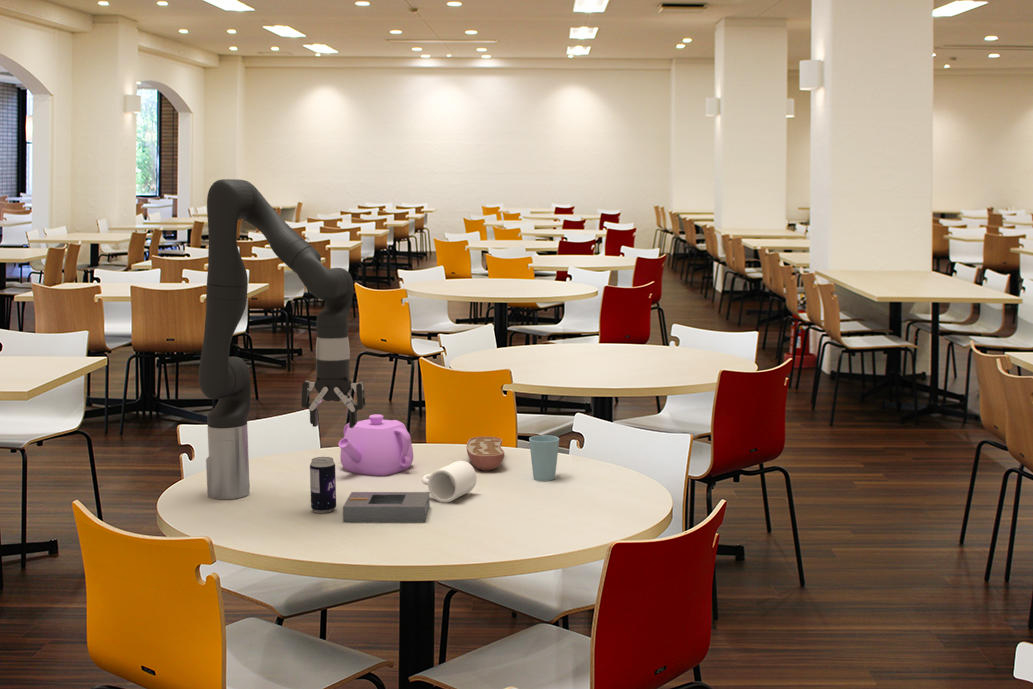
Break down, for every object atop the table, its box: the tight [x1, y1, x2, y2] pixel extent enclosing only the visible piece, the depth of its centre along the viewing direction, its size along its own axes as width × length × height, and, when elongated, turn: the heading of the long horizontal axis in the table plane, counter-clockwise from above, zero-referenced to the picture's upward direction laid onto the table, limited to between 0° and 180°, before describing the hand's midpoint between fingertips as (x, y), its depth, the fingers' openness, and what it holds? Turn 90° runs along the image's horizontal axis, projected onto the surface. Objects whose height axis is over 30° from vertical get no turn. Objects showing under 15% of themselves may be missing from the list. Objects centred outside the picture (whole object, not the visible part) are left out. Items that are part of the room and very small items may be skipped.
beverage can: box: [309, 456, 337, 514], centre depth 244 cm, size 6×6×12 cm
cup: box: [528, 434, 560, 482], centre depth 272 cm, size 8×8×10 cm
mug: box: [421, 460, 478, 504], centre depth 256 cm, size 12×10×8 cm
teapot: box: [337, 413, 414, 477], centre depth 281 cm, size 19×21×14 cm
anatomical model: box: [465, 436, 505, 471], centre depth 288 cm, size 23×10×5 cm, turn 3°
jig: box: [342, 491, 431, 523], centre depth 241 cm, size 18×12×4 cm, turn 90°
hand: (333, 426), depth 244 cm, fingers open, 8 cm apart
